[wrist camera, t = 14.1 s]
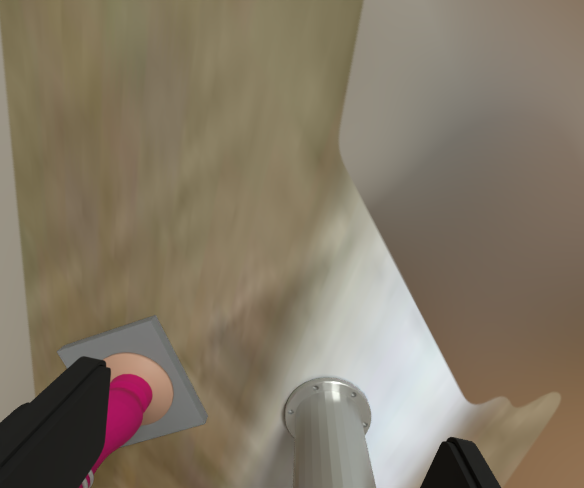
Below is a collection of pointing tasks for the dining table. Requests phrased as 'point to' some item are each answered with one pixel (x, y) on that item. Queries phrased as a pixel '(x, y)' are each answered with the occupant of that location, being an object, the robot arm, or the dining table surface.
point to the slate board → (146, 374)
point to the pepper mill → (122, 415)
